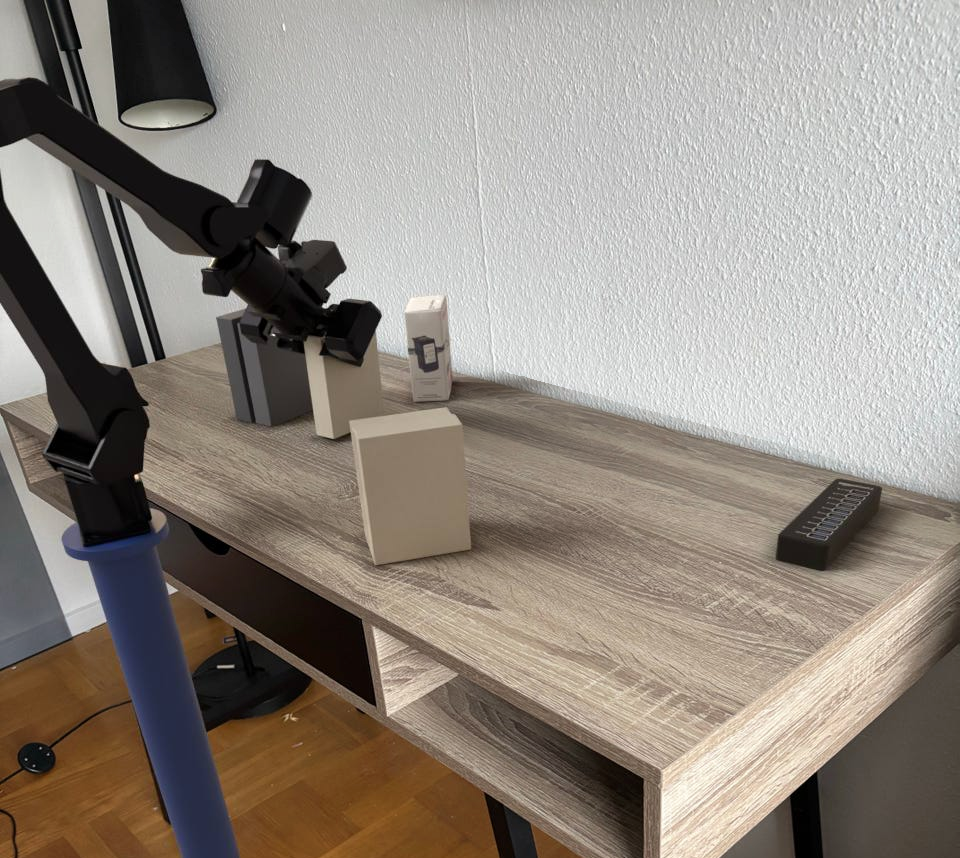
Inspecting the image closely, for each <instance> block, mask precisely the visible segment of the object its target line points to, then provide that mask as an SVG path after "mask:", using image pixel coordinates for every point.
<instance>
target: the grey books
mask: <svg viewBox="0 0 960 858" xmlns="http://www.w3.org/2000/svg"><path fill="white" fill-rule="evenodd" d="M245 310H246V308H243V309H239V310H236V311H232V312H229V313H225V314H223V315H222V314H221V315H219V316H216V324H217V329H218V333H219V339H220V344H221V350H222V354H223V359H224V364H225V368H226V373H227V378H228V383H229V387H230V393H231V397H232V402H233V407H234V412H235V413H234V414H235V417H236V420H238V421H242V422H246V423H252V424H253V423H256V424H259V425H263V426H266V427H267V426H268V427H275V426H277V425H279V424H282V423H284V422H287V421H290V420H292V419H294V418H297V417H299V416H302V415H305V414H306V413H309V412H312V411H313V405H312V398H311V391H310V384H309V377H308V370H307V363H306V356H305V355H303V354H299V353H295V352H291V351H287V350H283V349H279V348H278V347H277V342H278V339H277V338H276V337H273V336H269V335H268V331H269V328H270V326H271V324H270V323H269V322H268V323H267V326H266V328H265V330H264V332H263V334H264V335H266V336H267V337H268V342H267V344H266V345H263V344H258V343H252V342H251V341H249V340H248V339H247V338H246V337H245V336H243V335H242V334H241V329H240V324H239V322H240V320H241V318H242V316H243V314H244V312H245Z"/></svg>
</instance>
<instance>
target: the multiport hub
mask: <svg viewBox="0 0 960 858" xmlns="http://www.w3.org/2000/svg"><path fill="white" fill-rule="evenodd" d="M882 493H883V487H882V486H880V485H876V484H872V483H871V484H870V483H865V482H859V481H856V480H855V481H854V480H849V479H844V478H835V479H834V480H833V481H831V482H830V483H829V485H827V486H826V488H825V489H823V490H822V491H821V492H820V493H819V494H818V495H817V496H816V497H815V498H814V499H813V500H812V501H811V502H810V503H809V504H808V505H807V506H806V507H805V508H803V510H801V512H800V513H799V514H798V515H797V516H796V517H794V518H793V520H791V521H790V523H788V524H787V525H786V526H785V527H784V528H783V529H782V530H781V531H780V532H779V533H778V535H777V541H776V542H777V543H776V549H775V550H776V551H775V559H776V560H777V561H780V562H784V563H787V564H792V565H796V566H801V567H805V568H809V569H813V570H817V571H825V570H827V569H828V568H829V566H830V565H831V564H833V562H834V561H835V560H836V559H837V557H838V556H840V554H841V553H842V552H843V551H844V550H845V549H846V548H847V546H848V545H849V544H850V543H851V542H852V540H854V539H855V537H856V536H857V535H858V534H859V532H861V530H863V528H864V527H865V526H866V525H867V524H868V523H869V522H870V520H871V519H872V518H873V517H874V516H875V515H876V514H877V513H878V512H879V509H880V503H881V498H882Z"/></svg>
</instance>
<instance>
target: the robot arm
mask: <svg viewBox="0 0 960 858" xmlns="http://www.w3.org/2000/svg"><path fill="white" fill-rule="evenodd" d="M23 140H27V141H28V142H30V143H32V144H33V145H34V146H36V147H38V148H39V149H40V150H42V151H44V152H45V153H46V154H49V155H50V156H52V157H53V158H54V159H56V160H58V161H59V162H61V163H62V164H64V165H65V166H67V167H68V168H70V169H71V170H73V171H75V172H76V173H78V174H79V175H81V176H82V177H83V178H86V179H87V180H88V181H90V182H92V183H93V184H95V185H96V186H98V187H99V188H101V189H103V190H104V191H106V192H107V193H108V194H110V195H112V196H113V197H115V198H116V199H118V200H119V201H121V202H122V203H124V204H126V205H127V206H128V207H130V208H131V210H132V211H134V212H135V213H136V214H137V215H138V216H139V217H140V218H141V220H142V222H143V223H144V225H145V227H146V228H147V230H148V231H150V233H151V234H153V235H154V236H155V237H156V238H157V239H158V240H159V241H161V242H162V243H163V244H164V245H165V246H166V247H167V248H168V249H170V251H172V252H174V253H176V254H178V255H182V256H183V255H184V256H193V257H202V258H212V259H211V262H210V264H209V265H208V266H207V267H202V268H201V269H200V274H201V277H202V280H201V288H202V289H201V291H202V293H203V294H204V295H205V296H213V297H221V298H228V297H229V296H230V294H231V291H232V293H234V294H235V295H236V296H237V297H239V299H241V300H242V301H243V302H245V304H247V305H246V308H245V309H246V310H245V312H244V314H243V316H242V318H241V320H240V322H239V324H240V329H241V334H242V335H243V336H245V337H246V338H247V339H248V340H249V341H251V342H252V343H258V344H263V345H266V344H267V342H268V337H267V336H266V335H264V334H263V332H264V330H265V328H266V326H267V323H268V322H269V323H270V324H271V326H270V328H269V331H268V335H269V336H273V337H276V338H277V339H278V342H277V347H278V348H279V349H283V350H287V351H291V352H295V353H299V354H303V355H305V349H304V342H303V341H305V342H306V340H307V338H308V337H314V338H320V339H323V340H324V341H325V342H324V344H323V347H322V349H321V351H320V353H319V356H322V357H325V358H329V359H333V360H336V361H340V362H343V363H346V364H350V365H353V366H357V367H361V366H362V363H363V361H364V358H363V357H364V355H365V353H366V350H367V348H368V346H369V344H370V342H371V339H372V337H373V335H374V333H375V331H376V332H377V329H378V326H379V324H380V322H381V320H382V317H383V314H382V311H381V309H379V307H377V306H376V305H375V304H374V303H373V302H372V301H371V300H364V299H356V298H346V299H343V300H340V302H339V303H332V304H330V305H328V307H326V308H325V307H323V306H324V305H325V304H327V303H328V301H329V300H330V298H331V295H332V293H331V292H330V291H329V290H327V288H329V287H330V286H331V285H332V284H333V283H334V281H336V280H337V279H338V278H339V276H340V275H343V274H344V273H345V272H346V271H347V269H348V266H347V264H346V262H345V261H344V258H343V256H342V254H341V252H340V249H339V248H338V245H337V243H336V242H335V241H333V240H322V239H311V240H308V241H307V240H302V241H301V242H300V243H299V242H298V241H296V240H293V239H294V236H295V234H296V232H297V230H298V228H299V226H300V224H301V222H302V220H303V218H304V216H305V213H306V211H307V209H308V207H309V204H310V202H311V200H312V198H313V191H312V190H311V187H309V185H308V184H307V183H306V182H305V181H304V180H303V179H302V178H300V177H297V176H296V175H294V174H292V173H291V172H290V171H288V170H286V169H284V168H282V167H279V166H276V165H275V164H274V163H273V162H272V161H271V160H270V159H269V158H265V159H263V158H262V159H261V158H259V159H258V158H256V159H254V160H253V163H252V165H251V166H250V169H249V173H248V177H247V180H246V181H245V183H244V186H243V188H242V190H241V192H240V194H239V196H238V199H237V201H236V202H235V201H234V202H233V201H231V200H230V199H229V197H227V196H225V195H223V194H221V193H219V192H217V191H215V190H212V189H210V188H208V187H206V186H204V185H202V184H199V183H197V182H195V181H191V180H189V179H186V178H182V177H179V176H177V175H174V174H171V173H169V172H168V171H165V170H164V169H162V168H160V167H159V166H158V165H156V164H155V163H153V161H151V160H150V159H148V158H147V157H145V156H144V155H142V154H141V153H139V152H138V151H137V150H135V149H134V148H133V147H131V146H130V145H128V144H127V143H126V142H124V141H123V140H121V139H120V138H119V137H117V136H115V135H114V134H113V133H112V132H110V130H109V131H108V130H107V129H106V128H104V127H103V126H101V125H100V124H99V123H98V122H96V121H95V120H93V119H92V118H90V117H89V116H88V115H86V114H85V113H84V112H82V111H81V110H80V109H78V108H76V107H75V106H73V105H72V104H71V103H69V102H68V101H66V99H64V98H62V97H61V96H60V95H58V94H57V92H56V91H55V90H54V88H52V87H51V86H50V84H48V83H46V82H45V81H43V80H42V79H39V78H38V77H29V76H27V77H26V76H25V77H11V78H4V79H1V80H0V148H4V147H8V146H11V145H13V144H15V143H17V142H20V141H23ZM270 249H271V250H275V249H277V252H278V253H277V254H278V257H276V256H275V254H274V253H272V251H271V250H270ZM0 306H1V307H2V308H3V310H4V312H5V313H6V316H7V317H8V318H9V320H10V321H11V323H12V324H13V326H14V328H15V329H16V331H17V333H18V334H19V336H20V338H21V339H22V340H23V342H24V344H25V345H26V347H27V349H28V350H29V351H30V354H31V355H32V356H33V358H34V360H35V361H36V363H37V365H38V366H39V367H40V369H41V371H42V373H43V376H44V380H45V386H46V389H45V390H46V395H47V396H46V397H47V402H48V406H49V407H50V410H51V412H52V414H53V416H54V419H55V421H56V424H55V426H54V428H53V430H52V432H51V434H50V436H49V439H48V441H47V442H46V445H45V447H44V448H43V450H42V453H41V456H42V458H43V459H44V461H45V462H46V463H47V465H48V466H49V468H50V469H51V470H52V471H54V472H56V473H62V474H63V479H64V484H65V487H66V490H67V493H68V497H69V500H70V503H71V506H72V510H73V512H74V516H75V519H76V522H78V526H79V531H80V536H81V541H82V545H83V547H91V546H95V545H99V544H104V543H108V542H113V541H117V540H122V539H126V538H131V537H135V536H140V535H144V534H148V533H150V532H151V528H150V525H149V522H148V521H151V520H152V515H151V511H150V508H151V507H150V504H149V501H148V497H147V493H146V489H145V485H144V482H143V479H142V477H141V475H140V474H141V473H143V472H144V463H145V462H144V460H145V445H146V443H145V442H146V439H147V437H148V432H149V431H148V430H149V429H150V426H151V424H150V417H149V415H148V413H147V411H146V409H145V408H144V407H149V405H150V403H149V402H148V401H147V400H146V399H145V398H144V397H143V396H142V395H141V393H140V392H139V390H138V388H137V385H136V384H135V381H134V378H133V375H132V374H131V373H130V371H129V369H128V368H127V367H125V366H121V365H116V364H112V363H106V362H102V361H99V359H97V357H96V356H95V355H94V353H93V352H92V350H91V349H90V347H89V344H88V343H87V342H86V340H85V338H84V337H83V335H82V333H81V331H80V329H79V328H78V326H77V324H76V322H75V321H74V319H73V318H72V316H71V314H70V312H69V310H68V309H67V307H66V305H65V303H64V302H63V300H62V298H61V297H60V295H59V293H58V292H57V290H56V288H55V286H54V285H53V283H52V281H51V279H50V278H49V276H48V274H47V272H46V270H45V269H44V268H43V266H42V264H41V262H40V260H39V259H38V257H37V255H36V253H35V252H34V250H33V248H32V247H31V245H30V243H29V241H28V239H27V238H26V237H25V234H24V233H23V231H22V229H21V228H20V226H19V224H18V222H17V221H16V219H15V217H14V215H13V214H12V212H11V209H9V207H8V205H7V202H6V200H5V194H4V187H3V179H2V171H1V169H0Z"/></svg>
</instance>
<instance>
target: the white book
mask: <svg viewBox="0 0 960 858" xmlns="http://www.w3.org/2000/svg"><path fill="white" fill-rule="evenodd" d="M303 342H304V349H305V356H306V363H307V370H308V377H309V384H310V391H311V398H312V405H313V410H312V411H313V417H314V418H313V419H314V425H315V433H316V436H319V437H324V438H328V439H332V440H335V439H337V438H340V437H342V436H345V435H347V434H351V430H350V423H349V421H351V420H358V419H365V418H373V417H380V416H385V407H384V397H383V388H382V379H381V378H382V377H381V370H380V369H381V367H380V359H379V349H378V338H377V330H376V331H375V333H374V335H373V337H372V339H371V342H370V344H369V346H368V348H367V350H366V353H365V355H364V357H363V358H364V361H363V363H362V366H361V367H357V366H353V365H350V364H346V363H343V362H340V361H336V360H333V359H329V358H325V357H322V356H319V353H320V351H321V349H322V347H323V344H324V342H325V341H324V340H323V339H320V338H314V337H308V338H307V340H306V342H305V341H303Z"/></svg>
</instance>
